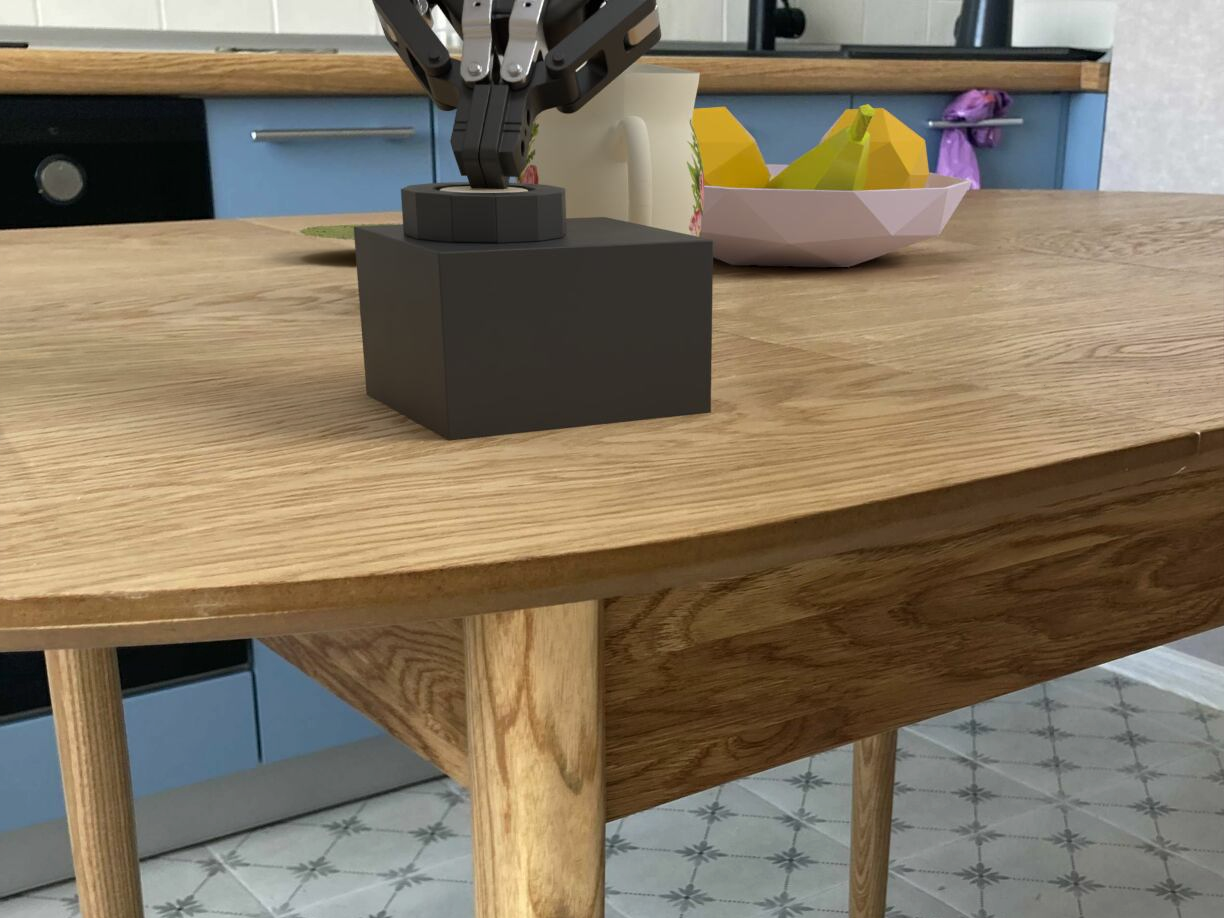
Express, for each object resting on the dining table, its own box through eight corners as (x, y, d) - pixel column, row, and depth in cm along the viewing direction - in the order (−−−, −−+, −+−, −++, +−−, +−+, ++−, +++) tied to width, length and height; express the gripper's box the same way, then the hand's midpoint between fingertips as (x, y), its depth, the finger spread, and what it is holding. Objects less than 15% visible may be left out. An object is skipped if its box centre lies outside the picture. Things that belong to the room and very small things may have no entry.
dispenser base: (449, 442, 61) (435, 201, 57) (366, 395, 69) (349, 181, 65) (711, 413, 67) (714, 193, 63) (607, 373, 74) (604, 175, 71)
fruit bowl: (629, 234, 130) (628, 88, 126) (951, 242, 130) (962, 96, 125) (589, 278, 105) (586, 97, 100) (989, 289, 104) (1005, 107, 99)
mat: (288, 251, 116) (286, 224, 115) (435, 246, 120) (434, 220, 119) (319, 269, 107) (316, 240, 106) (477, 264, 111) (475, 235, 110)
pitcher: (542, 339, 83) (533, 59, 77) (505, 291, 99) (496, 56, 93) (740, 335, 85) (746, 63, 79) (673, 289, 101) (674, 59, 95)
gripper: (376, -212, 66) (296, 104, 60) (681, -214, 65) (631, 110, 59) (423, -64, 73) (355, 233, 67) (698, -62, 72) (655, 241, 66)
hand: (484, 175), depth 63 cm, fingers closed
